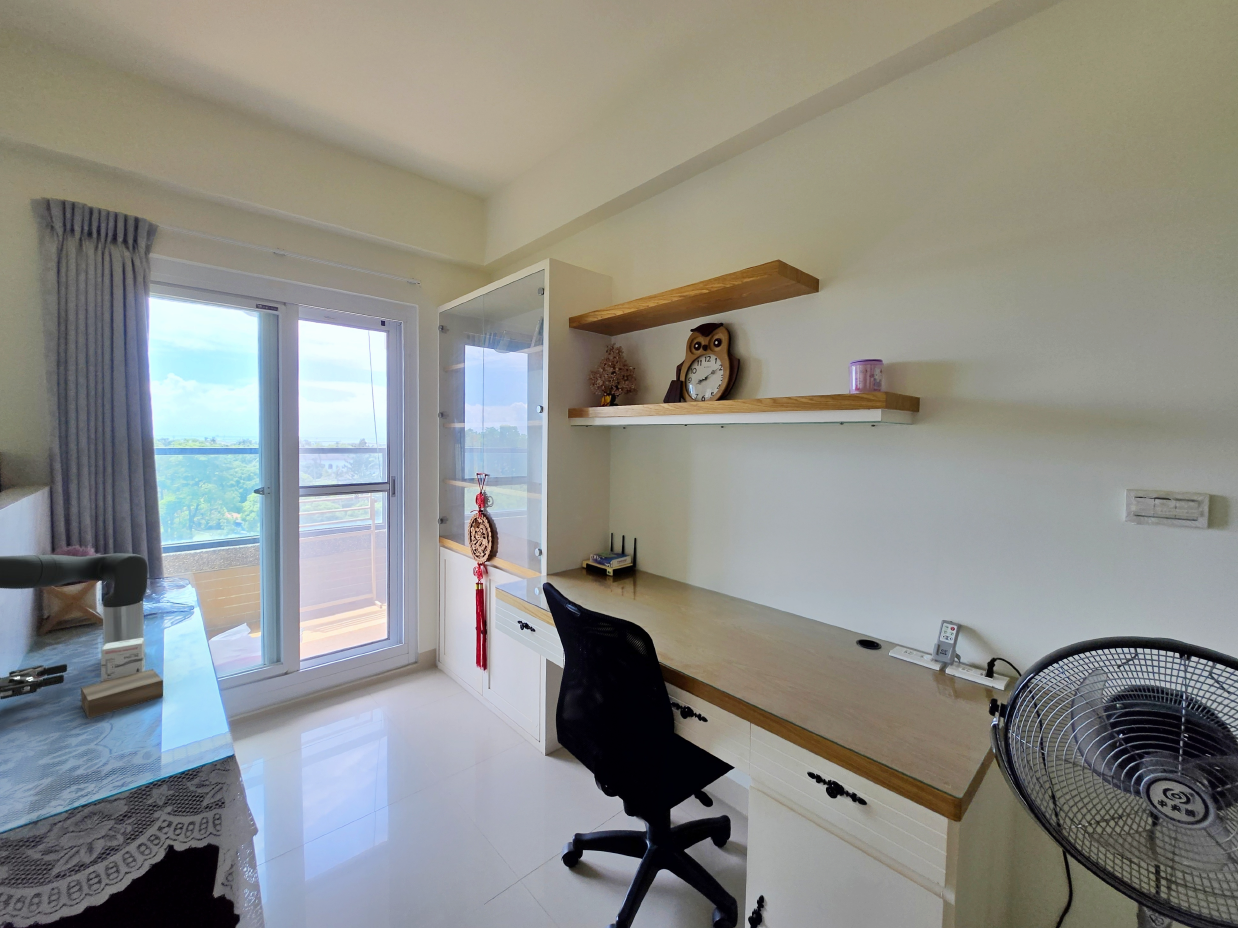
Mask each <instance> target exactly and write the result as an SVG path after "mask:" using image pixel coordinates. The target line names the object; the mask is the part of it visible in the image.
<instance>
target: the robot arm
mask: <svg viewBox="0 0 1238 928" xmlns="http://www.w3.org/2000/svg"><path fill="white" fill-rule="evenodd" d="M148 566H149V565H148V562H147V559H146V558H145V557H144V556H143V555H140V554H137V553H136V554H135V553H134V554H133V553H122V552H117V553H109V554H106V553H105V554H99V555H89V556H73V555H65V554H64V555H61V554H28V555H27V554H24V555H1V556H0V589H8V590H9V589H10V590H25V589H41V588H50V587H51V588H52V587H56V586H61V585H64V584H68V583H72V582H79V581H80V582H81V581H83V582H85V581H87V582H89V581H92V582H95V581H96V582H107V583H113V591H112V592H111V593H109V594H107V595H105V596H104V597H103V600H102V615H103V616H102V625H103V626H102V629H103V637H102V639H103V641H102V642H103V646H104V645H105V644H107V643H112V642H119V641H125V640H132V639H138V638H144V639H145V636H144V635H145V634H144V631H145V629H144V626H145V625H144V624H145V622H144V620H145V619H144V596H145V594H146V592H147V587H148V576H149V575H148V572H149V571H148V570H149V569H148V568H149V567H148ZM67 671H68V664H67V663H63V664H57V665H53V666H44V665H42V664H40V665H36V666H31V667H26V668H21V669H16V670H11V671H9V672H8V676H3V677H0V700H6V699H9V698H11V699H12V698H14V697H19V696H25V695H30V694H34V693H36V692H38V691H39V690H41V689H42V688H45V687H52V686H55V685H60V684H61V685H62V684H63V683H64V681H65V675H64V674H65V673H67Z"/></svg>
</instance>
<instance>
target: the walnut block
mask: <svg viewBox="0 0 1238 928" xmlns="http://www.w3.org/2000/svg"><path fill="white" fill-rule="evenodd" d="M162 697H164V680H163V678H162V676H160V675H159V674H158V673H157V672H156V671H155V670H154V668H151V669H147V670H146V669H145V671H143V672H139V673H135V674H131V675H127V676H123V677H119V678H115V679H111V680H107V681H103V682H101V681H100V682H97V683H92V684H89V685H84V686H80V702H81V703H80V704H81V707H82V709H83V711H84V712H85V715H86V716H87V718H88V719H91V718H95V717H98V716H99V717H100V716H102V715H106V714H110V713H112V712H115V711H119V710H123V709H125V708H129V707H134V706H136V705H140V704H143V703H147V702H149V701H153V700H156V699H160V698H162Z"/></svg>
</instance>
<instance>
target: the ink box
mask: <svg viewBox="0 0 1238 928" xmlns="http://www.w3.org/2000/svg"><path fill="white" fill-rule="evenodd" d="M145 641H146V639H145V637H144V638H138V639H132V640H125V641H119V642H112V643H107V644H105V645H104V644H103V646H102V647H101V652H100V653H101V654H100V656H101V657H100V660H101V663H100V671H101V672H100V682H103V681H107V680H111V679H115V678H119V677H123V676H127V675H131V674H135V673H139V672H143V671H146V642H145Z"/></svg>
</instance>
